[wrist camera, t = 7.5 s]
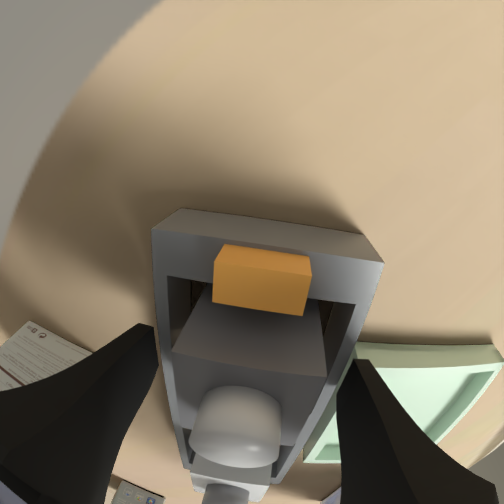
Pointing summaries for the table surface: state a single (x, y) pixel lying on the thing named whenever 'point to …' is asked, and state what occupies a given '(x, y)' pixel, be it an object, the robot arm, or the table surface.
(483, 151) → the table surface
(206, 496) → the twin plug
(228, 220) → the power strip
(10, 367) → the supplement box
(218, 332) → the plug
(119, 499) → the hard drive box
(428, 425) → the tray
